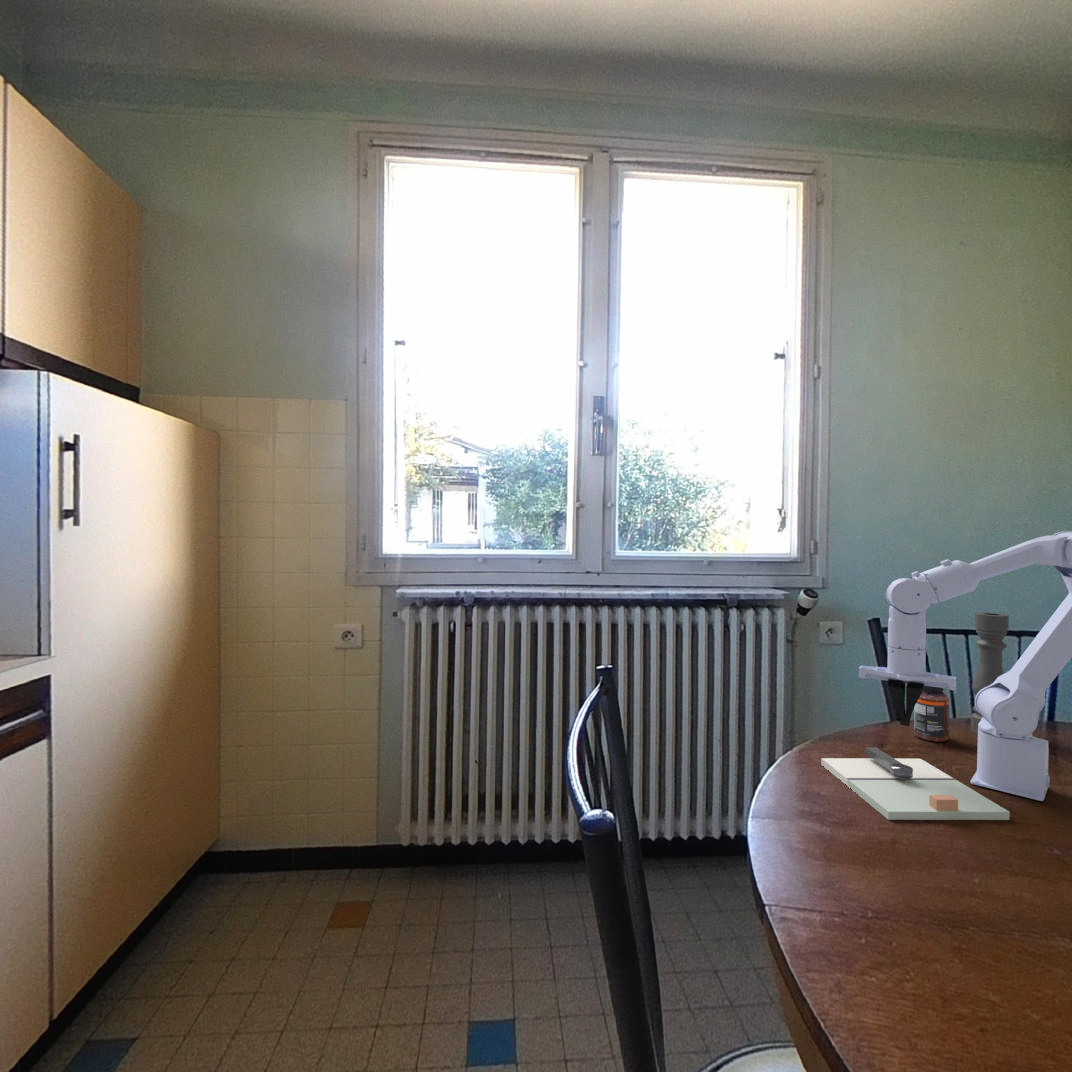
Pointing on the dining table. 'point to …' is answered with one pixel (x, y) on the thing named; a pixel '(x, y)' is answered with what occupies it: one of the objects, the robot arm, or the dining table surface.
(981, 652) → the candle holder
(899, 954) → the dining table surface
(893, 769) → the bar
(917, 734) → the supplement bottle
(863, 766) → the plate
